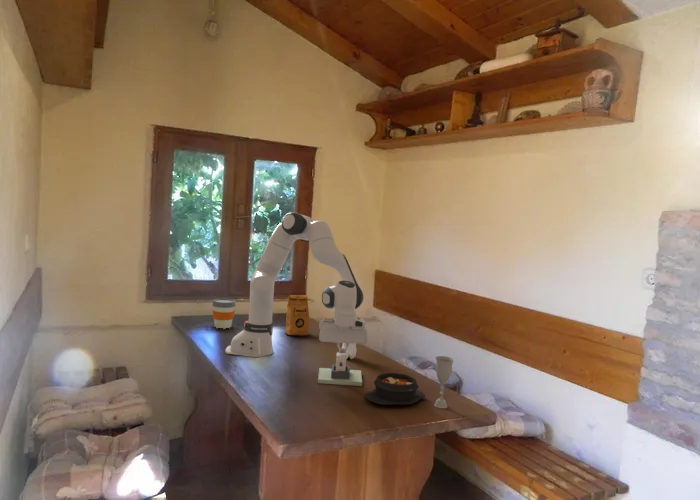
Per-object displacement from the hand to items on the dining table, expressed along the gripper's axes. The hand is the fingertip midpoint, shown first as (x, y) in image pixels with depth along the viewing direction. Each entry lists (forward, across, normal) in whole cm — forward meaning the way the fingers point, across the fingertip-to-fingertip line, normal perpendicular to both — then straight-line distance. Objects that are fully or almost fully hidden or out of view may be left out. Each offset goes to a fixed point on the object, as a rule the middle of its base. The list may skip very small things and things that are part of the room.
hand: (342, 353), depth 226 cm
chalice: (+11, +38, -24) cm, 46 cm away
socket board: (+11, 0, +1) cm, 11 cm away
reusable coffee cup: (+11, -66, +79) cm, 104 cm away
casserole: (+11, +21, -21) cm, 32 cm away
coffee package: (+11, -24, +73) cm, 78 cm away
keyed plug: (+10, 0, 0) cm, 10 cm away
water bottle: (+11, +4, +33) cm, 35 cm away
